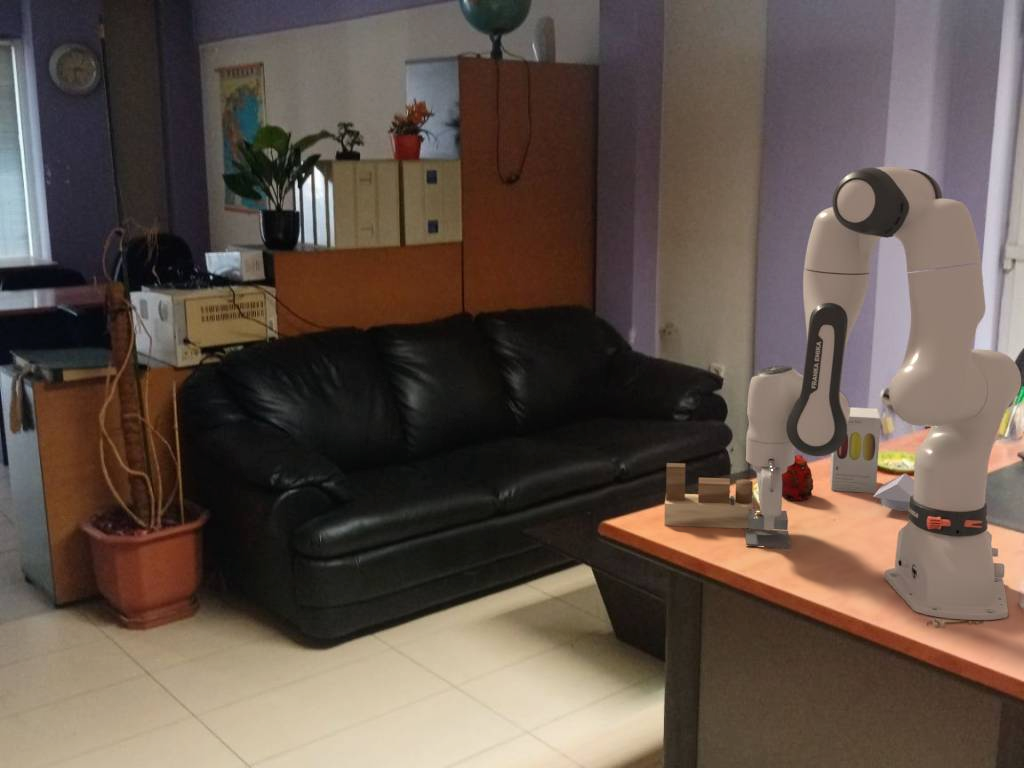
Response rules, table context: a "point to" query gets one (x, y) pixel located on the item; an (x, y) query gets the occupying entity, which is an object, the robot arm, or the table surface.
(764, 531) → the bench mat
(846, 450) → the supplement box
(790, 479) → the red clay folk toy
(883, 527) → the table surface
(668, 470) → the wooden block toy
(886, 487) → the white house model
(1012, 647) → the table surface
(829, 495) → the table surface
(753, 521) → the lever cap
